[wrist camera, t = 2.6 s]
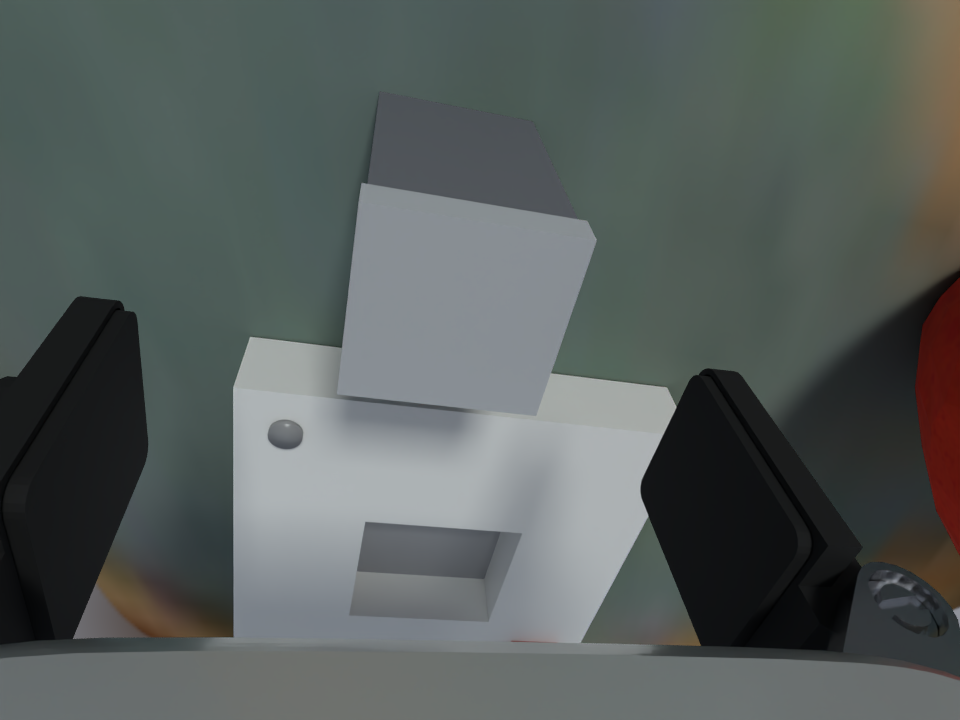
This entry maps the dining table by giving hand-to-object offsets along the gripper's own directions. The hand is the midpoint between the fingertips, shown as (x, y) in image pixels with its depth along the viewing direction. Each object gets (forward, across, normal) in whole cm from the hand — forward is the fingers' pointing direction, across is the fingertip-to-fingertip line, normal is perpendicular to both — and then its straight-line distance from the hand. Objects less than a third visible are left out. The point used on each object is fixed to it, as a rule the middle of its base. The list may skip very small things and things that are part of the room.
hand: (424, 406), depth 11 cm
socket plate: (+9, -3, +13) cm, 16 cm away
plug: (+9, -1, -1) cm, 9 cm away
